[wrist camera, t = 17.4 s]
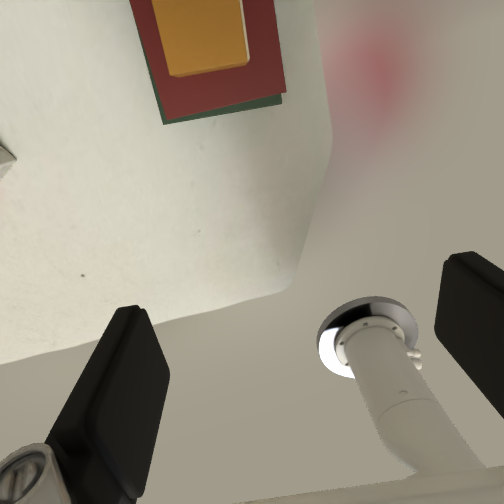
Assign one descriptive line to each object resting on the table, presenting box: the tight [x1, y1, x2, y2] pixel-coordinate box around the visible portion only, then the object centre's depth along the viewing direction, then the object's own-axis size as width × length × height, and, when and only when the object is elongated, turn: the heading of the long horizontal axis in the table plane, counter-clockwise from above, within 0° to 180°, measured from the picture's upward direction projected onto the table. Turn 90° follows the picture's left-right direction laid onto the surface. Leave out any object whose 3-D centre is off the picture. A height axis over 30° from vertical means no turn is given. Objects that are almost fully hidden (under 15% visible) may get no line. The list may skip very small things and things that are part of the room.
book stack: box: [129, 0, 286, 125], centre depth 29 cm, size 18×13×6 cm
